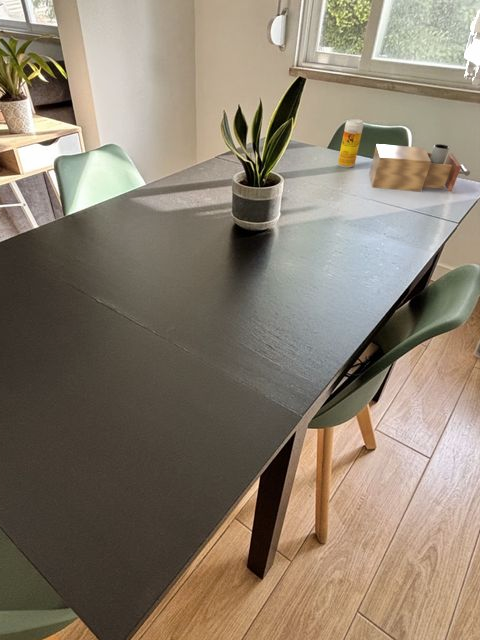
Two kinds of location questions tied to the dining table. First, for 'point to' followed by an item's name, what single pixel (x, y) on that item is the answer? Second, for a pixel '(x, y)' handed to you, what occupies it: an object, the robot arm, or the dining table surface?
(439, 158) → the grey cylindrical tube
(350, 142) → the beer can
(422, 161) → the cabinet
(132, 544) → the dining table surface
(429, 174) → the drawer
